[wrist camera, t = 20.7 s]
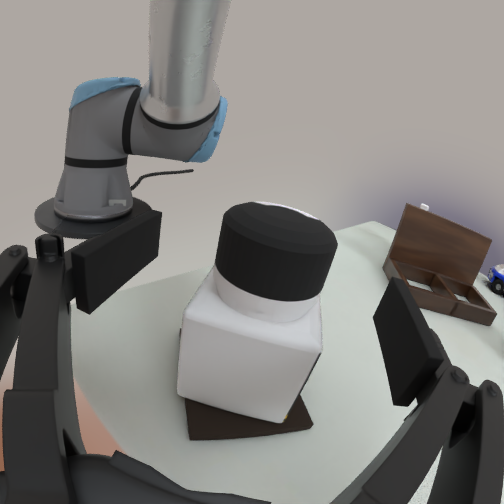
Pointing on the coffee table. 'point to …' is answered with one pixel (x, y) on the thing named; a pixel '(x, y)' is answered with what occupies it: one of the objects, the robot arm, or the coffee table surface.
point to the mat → (239, 422)
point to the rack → (440, 264)
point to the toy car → (497, 278)
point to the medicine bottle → (257, 313)
